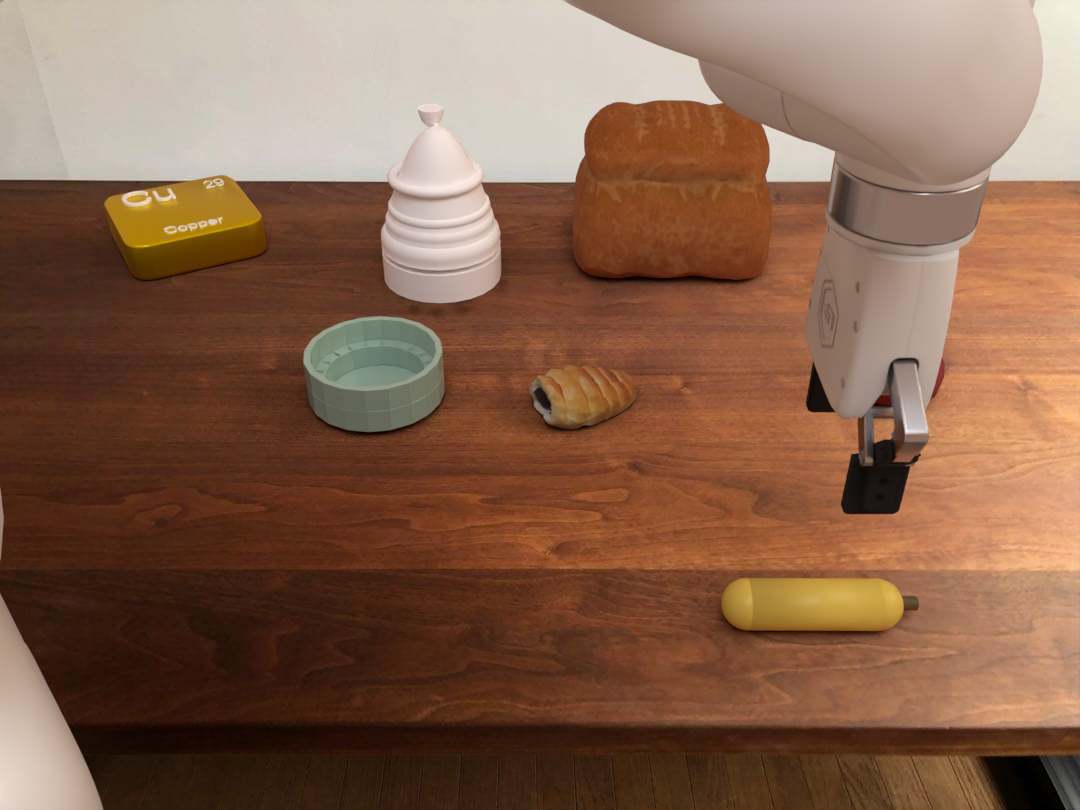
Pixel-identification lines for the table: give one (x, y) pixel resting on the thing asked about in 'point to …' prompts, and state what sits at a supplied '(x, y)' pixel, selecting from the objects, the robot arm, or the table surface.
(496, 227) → the honey pot
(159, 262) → the element tile
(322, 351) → the bowl
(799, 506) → the table surface
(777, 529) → the table surface
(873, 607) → the yellow gas cartridge
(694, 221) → the bread
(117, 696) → the table surface
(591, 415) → the pastry
